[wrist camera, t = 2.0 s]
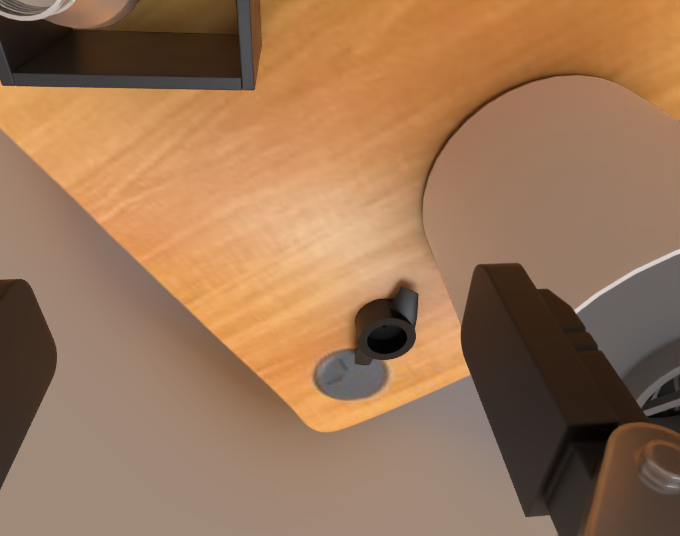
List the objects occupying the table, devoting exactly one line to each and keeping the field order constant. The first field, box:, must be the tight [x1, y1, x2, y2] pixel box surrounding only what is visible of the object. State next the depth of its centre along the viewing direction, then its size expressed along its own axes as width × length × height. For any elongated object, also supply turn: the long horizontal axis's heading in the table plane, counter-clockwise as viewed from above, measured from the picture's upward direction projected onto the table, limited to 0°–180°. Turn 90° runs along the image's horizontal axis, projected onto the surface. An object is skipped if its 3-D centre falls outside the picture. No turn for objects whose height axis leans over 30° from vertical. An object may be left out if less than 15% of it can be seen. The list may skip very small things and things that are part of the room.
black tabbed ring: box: [355, 287, 418, 365], centre depth 53 cm, size 8×10×3 cm
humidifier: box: [422, 75, 680, 434], centre depth 36 cm, size 22×21×23 cm
